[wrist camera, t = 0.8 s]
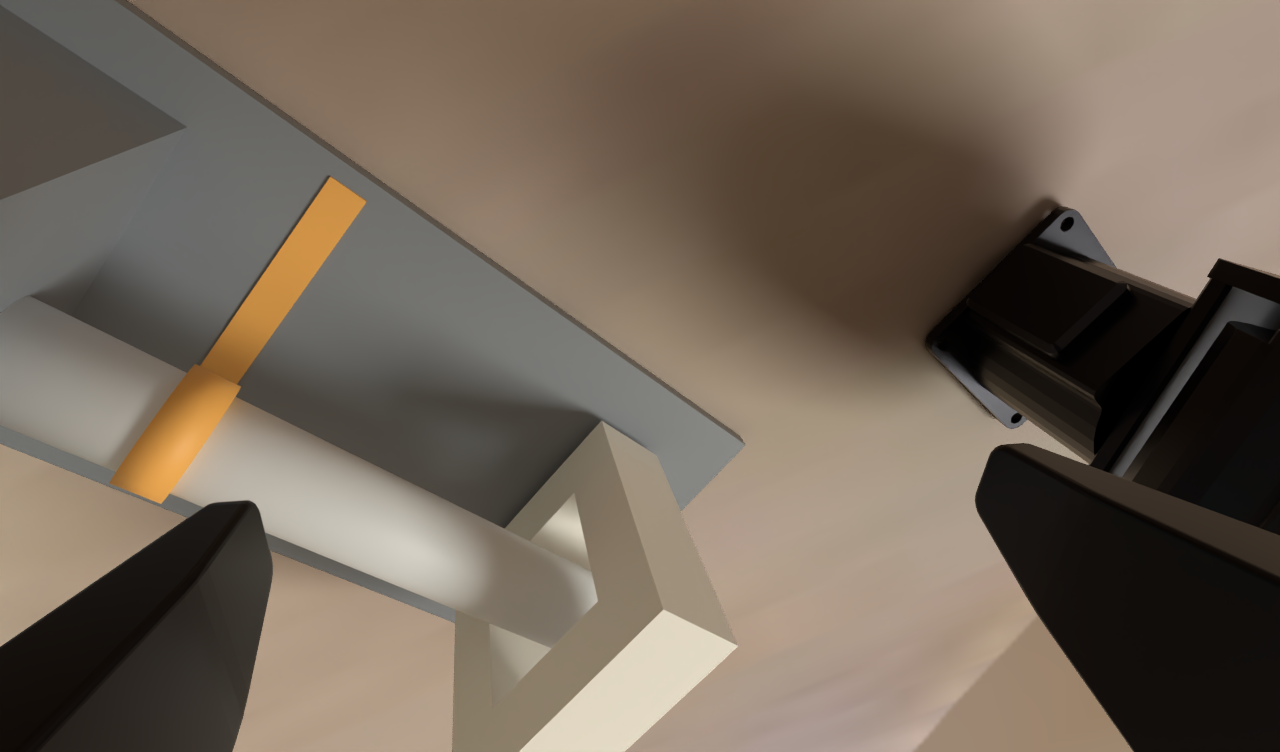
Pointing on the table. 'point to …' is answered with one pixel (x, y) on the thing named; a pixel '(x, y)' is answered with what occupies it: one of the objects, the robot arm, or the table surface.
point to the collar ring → (596, 616)
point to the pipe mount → (288, 331)
